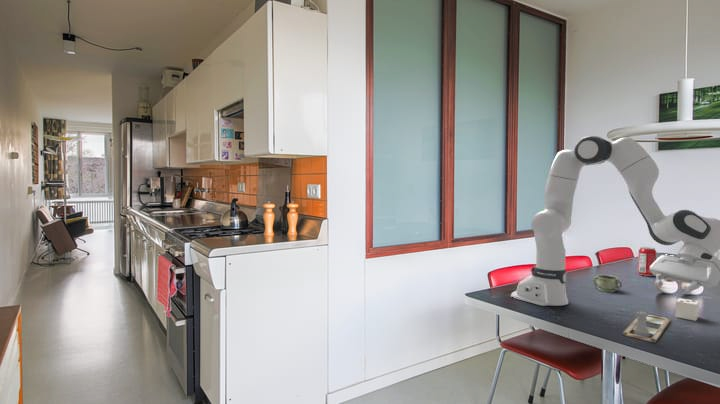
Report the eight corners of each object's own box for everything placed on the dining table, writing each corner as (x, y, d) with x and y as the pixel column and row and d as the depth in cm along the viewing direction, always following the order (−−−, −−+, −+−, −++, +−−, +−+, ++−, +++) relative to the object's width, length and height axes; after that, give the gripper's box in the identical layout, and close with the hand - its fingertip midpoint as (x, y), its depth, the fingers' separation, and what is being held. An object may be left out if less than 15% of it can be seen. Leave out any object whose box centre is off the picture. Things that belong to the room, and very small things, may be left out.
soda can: (637, 275, 220) (638, 247, 219) (637, 272, 226) (639, 246, 226) (655, 277, 215) (656, 249, 215) (655, 274, 222) (656, 247, 221)
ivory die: (675, 316, 154) (676, 300, 153) (678, 313, 158) (678, 297, 158) (696, 320, 150) (696, 304, 149) (698, 317, 154) (698, 301, 153)
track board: (622, 335, 136) (622, 332, 136) (641, 315, 156) (641, 313, 155) (655, 342, 129) (655, 340, 129) (670, 321, 149) (670, 318, 149)
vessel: (589, 289, 193) (590, 275, 193) (595, 285, 199) (596, 272, 199) (618, 294, 185) (619, 280, 184) (624, 290, 191) (624, 277, 190)
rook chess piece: (643, 332, 138) (643, 309, 138) (652, 337, 133) (653, 313, 133) (630, 332, 138) (630, 309, 137) (639, 338, 133) (640, 313, 133)
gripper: (658, 247, 150) (637, 275, 148) (721, 257, 130) (698, 290, 128) (667, 259, 151) (646, 287, 149) (730, 270, 132) (708, 303, 130)
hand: (670, 288), depth 138 cm, fingers open, 8 cm apart
